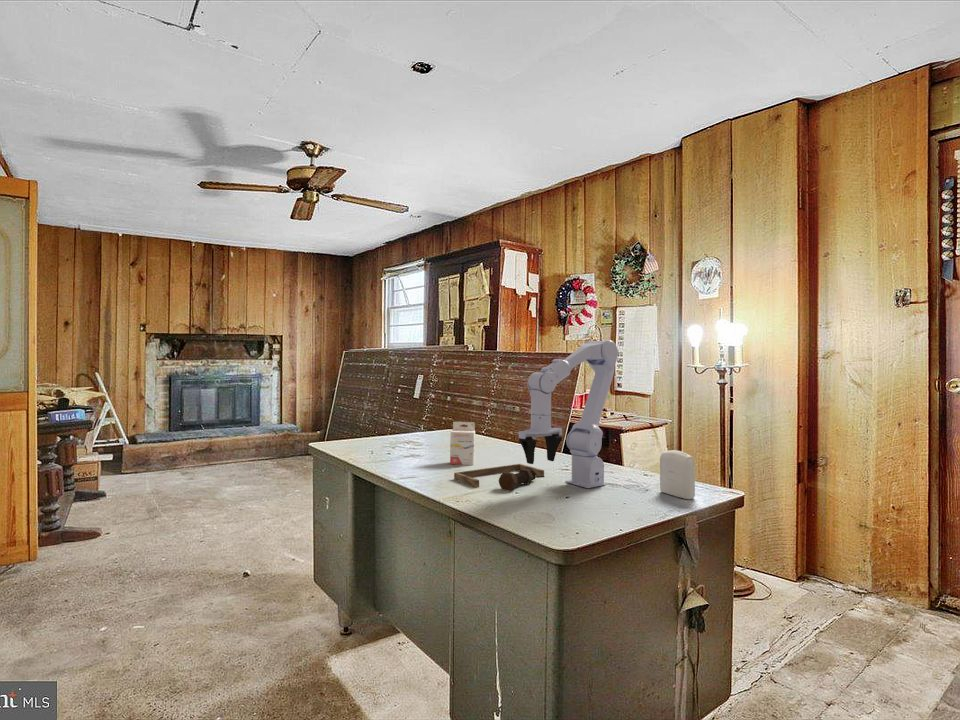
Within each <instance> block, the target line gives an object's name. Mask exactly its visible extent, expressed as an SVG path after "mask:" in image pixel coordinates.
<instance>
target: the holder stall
mask: <svg viewBox="0 0 960 720" xmlns="http://www.w3.org/2000/svg"><path fill="white" fill-rule="evenodd" d="M521 469H528V470H533V471H534V472H535V473H536V476H537V475H538V477H540V476H544V477H545V469H541V468H537V467H533V466H530V465H526V464H523V463H516V464H514V463H513V464H509V465H500V466H493V467H488V468H487V467H486V468H480V469H479V468H478V469H473V470H465V471H464V470H463V471H458V472H454V473H453V476H454V477H453V479H454V480H455V479H456V480H455V481H458V480H459V481H458V482H460V481H461V482H460V483H463V482H464V483H463V484H466V485H468V484H469V486H471V485H472V487H474V488H479V487H480V480H479V479H477V477H484V476H490V475H491V474H492V475H497V473H499V474H502V473H503V472H509V473H512V472H518V471H517V470H519V471H520V470H521ZM511 471H512V472H511ZM492 475H491V476H492Z"/></svg>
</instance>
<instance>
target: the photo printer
mask: <svg viewBox="0 0 960 720" xmlns="http://www.w3.org/2000/svg"><path fill="white" fill-rule="evenodd" d="M695 466H696V464H695V458H694V457H693V456H692V455H690V454H688V453H686V452H685V451H681V450H676V449H674V450H673V449H672V450H671V449H670V450H665V451H662V452H661V454H660V456H659V490H660V492H661V493H664V494H668V495H671V496H673V497H676V498H677V497H678V498H681V499H684V500H693V499H694V498H695V497H696V486H695V485H696V483H695V482H696V481H695V480H696V478H695V477H696V476H695V475H696V474H695V471H696V469H695Z"/></svg>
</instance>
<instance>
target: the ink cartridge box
mask: <svg viewBox="0 0 960 720" xmlns="http://www.w3.org/2000/svg"><path fill="white" fill-rule="evenodd" d="M475 424H476V423H475V422H472V421H469V422H468V421H453V422H452V430H451V431H450V446H449V447H450V449H449V451H450V453H449V463H450V464H449V465H453V464H454V465H455V466H456V465H459V466H474V465H475V463H476V431H475V429H476V425H475ZM463 425H464V426H463Z"/></svg>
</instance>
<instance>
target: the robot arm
mask: <svg viewBox="0 0 960 720" xmlns="http://www.w3.org/2000/svg"><path fill="white" fill-rule="evenodd" d="M619 354H620V352H619V349H618V347H617V344H616V343H615V341H613V340H612V339H607V340H587V341H585V342H584V343H581V344H580V346H579V347H578V348H577V349H576V350H574V351H573V352H572V353H571V354H570V355H568V356H567V357H566V358H564V359H562V358H554V359H552V361H551V363H550V364H548V365H547V366H546V367H545V366H544V367H541V370H540V371H539V372H538V371H535V372H533V373H531V374H530V375H529V377H528V380H527V381H526V388H527V389H528V391H529V396H530V427H529V429H525V430H518V441H519V444H520V445H521V447H522V449H523V452H524V455H525V459H526V464H529V465H533V464H534V462H535V451H536V445H537V442H538V441H537V439H534V438H541V437H544V441H545V445H546V458H547V461H550V462H554V461H555V458H556V454H557V451H558V448H559V445H560V444H561V442H562V441H563V436H562V435H563V428H561V427H552V392H554V391H555V389H556V386H557V384H559V383H560V382H561V381H563V380H564V379H566V378H568V377H569V376H570V375H571V371H572V369H574V368H575V367H578V365H580V364H582V363H584V362H586V363H587V365H589V367H590V369H592V370H593V372H594V376H593V380H592V382H591V385H590V388H589V393H588V396H587V399H586V401H585V404H584V408H583V411H582V415H581V417H580V420H579V421H577V422H576V423H574V424H573V425H572V428H571V429H570V431H569V433H568V434H567V435H566V440H565V441H566V443H565V444H566V446H567V448H568V449H569V453H571V479H565V483H568V484H571V485H574V486H577V487H582V488H585V489H590V488H596V487H602V486H606V485H607V484H606V482H605V462H604V461H603V459H602V458H601V457H600V456H599V457H598V455H599V452H600V451H601V449H602V446H603V445H602V443H603V442H602V441H603V439H602V438H603V435H604V433H603V430H602V429H601V428H600V427H599V424H600V420H601V417H602V414H603V410H604V408H605V404H606V400H607V397H608V395H609V391H610V388H611V384H612V381H613V378H614V374H615V368H616V363H617V360H618V358H619Z"/></svg>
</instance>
